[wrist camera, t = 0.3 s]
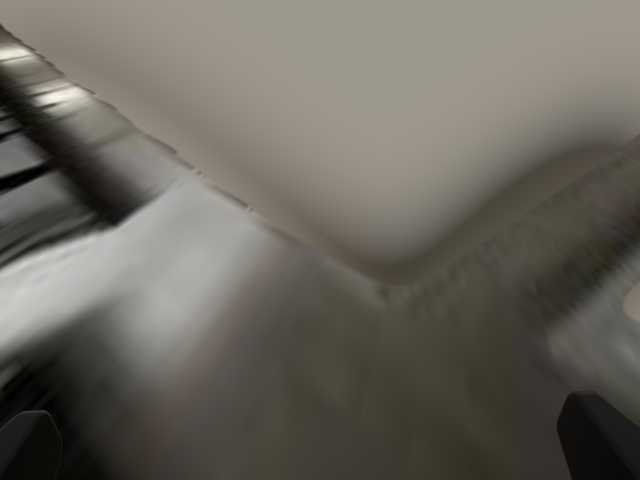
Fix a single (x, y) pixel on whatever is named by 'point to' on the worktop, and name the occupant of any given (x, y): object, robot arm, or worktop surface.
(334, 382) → the worktop surface
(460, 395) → the worktop surface
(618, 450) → the robot arm
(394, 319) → the worktop surface
